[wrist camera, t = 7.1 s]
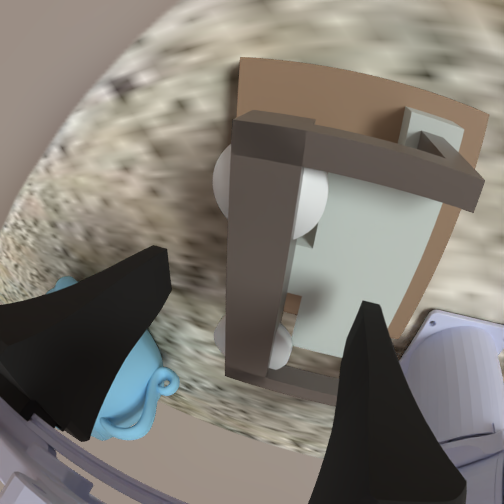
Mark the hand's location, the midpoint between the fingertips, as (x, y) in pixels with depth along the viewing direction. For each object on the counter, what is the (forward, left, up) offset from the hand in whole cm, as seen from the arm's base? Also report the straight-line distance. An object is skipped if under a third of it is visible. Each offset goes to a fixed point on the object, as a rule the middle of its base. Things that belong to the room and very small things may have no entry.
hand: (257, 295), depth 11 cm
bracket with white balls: (0, -2, -5) cm, 5 cm away
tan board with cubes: (0, -2, -8) cm, 8 cm away
